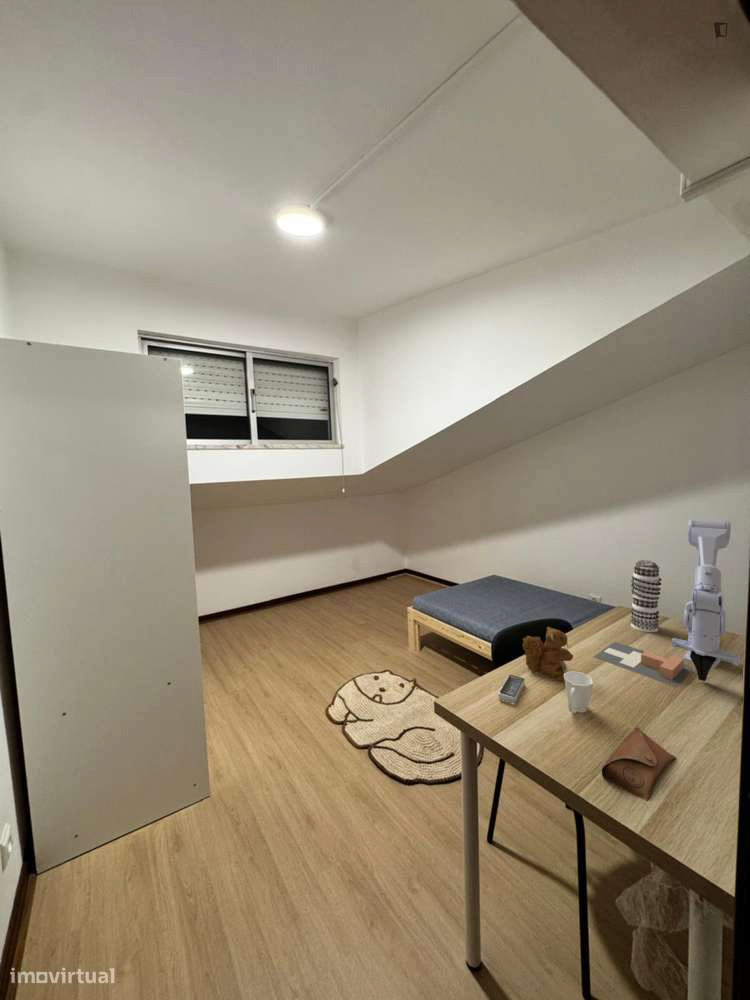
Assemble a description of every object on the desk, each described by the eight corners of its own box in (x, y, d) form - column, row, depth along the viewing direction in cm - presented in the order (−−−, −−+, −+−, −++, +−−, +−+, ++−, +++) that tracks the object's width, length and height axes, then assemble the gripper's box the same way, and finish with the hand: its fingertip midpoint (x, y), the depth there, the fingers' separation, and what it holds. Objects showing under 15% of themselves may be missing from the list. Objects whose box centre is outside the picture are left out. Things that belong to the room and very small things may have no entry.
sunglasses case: (649, 804, 73) (630, 765, 75) (613, 800, 78) (596, 764, 80) (678, 756, 84) (660, 723, 86) (644, 756, 89) (628, 725, 91)
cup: (596, 706, 102) (597, 677, 101) (585, 726, 94) (585, 694, 94) (567, 695, 107) (568, 667, 106) (554, 714, 99) (555, 684, 98)
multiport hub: (498, 700, 106) (498, 692, 106) (509, 681, 115) (509, 673, 115) (514, 706, 103) (514, 698, 103) (524, 685, 113) (525, 678, 112)
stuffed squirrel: (573, 683, 112) (574, 640, 111) (521, 675, 117) (521, 633, 116) (570, 666, 121) (571, 625, 120) (522, 659, 127) (522, 620, 125)
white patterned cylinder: (661, 634, 140) (664, 566, 137) (630, 629, 144) (632, 563, 142) (658, 624, 148) (660, 560, 145) (629, 620, 152) (631, 557, 150)
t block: (648, 656, 124) (649, 647, 124) (683, 668, 117) (683, 658, 117) (636, 667, 118) (636, 658, 118) (672, 680, 111) (672, 670, 111)
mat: (614, 642, 135) (614, 641, 135) (694, 668, 118) (694, 667, 118) (593, 658, 126) (593, 656, 126) (676, 688, 108) (676, 687, 108)
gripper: (668, 628, 112) (666, 673, 113) (736, 646, 100) (733, 696, 101) (676, 621, 116) (674, 665, 117) (743, 638, 104) (739, 686, 106)
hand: (702, 679), depth 110 cm, fingers closed
